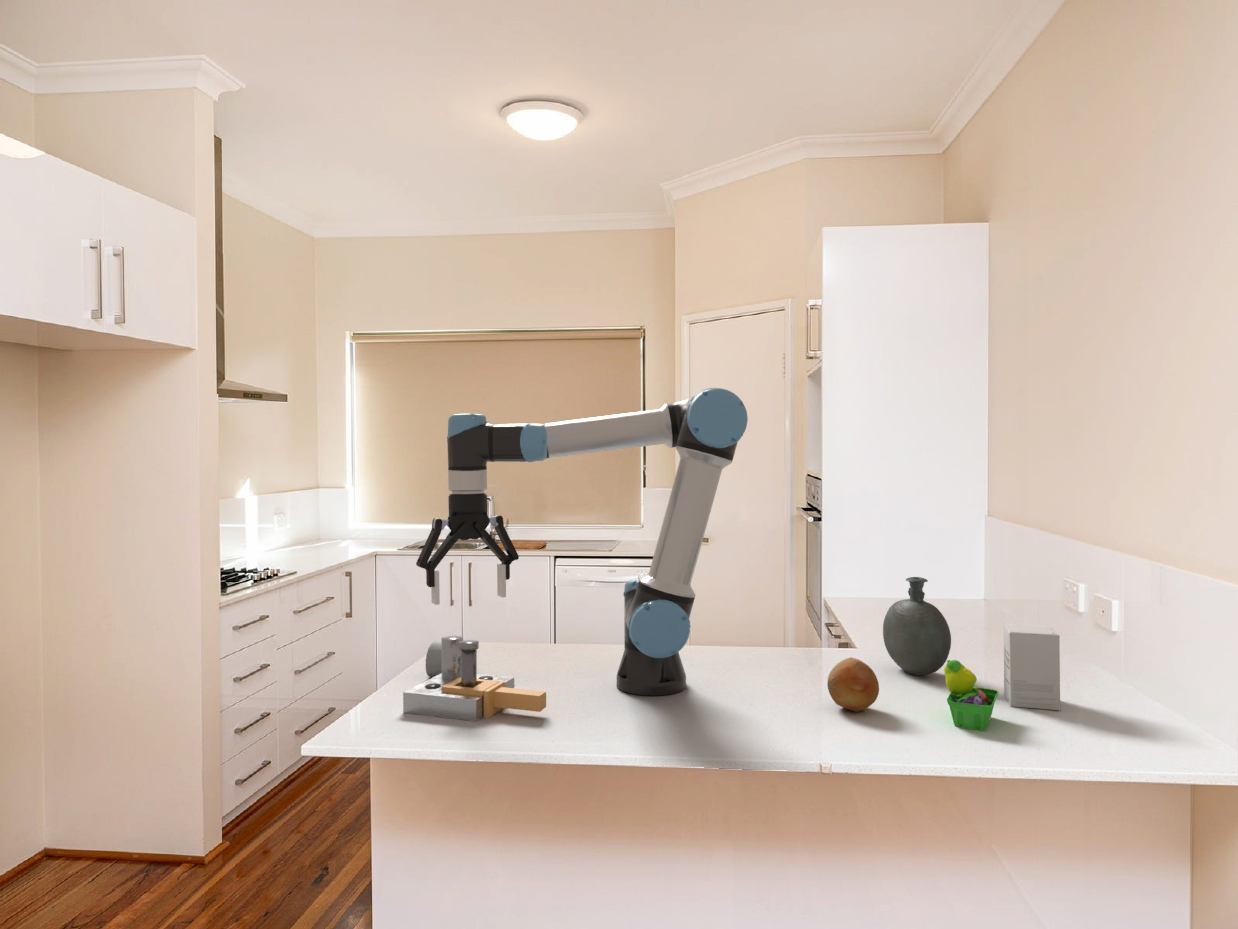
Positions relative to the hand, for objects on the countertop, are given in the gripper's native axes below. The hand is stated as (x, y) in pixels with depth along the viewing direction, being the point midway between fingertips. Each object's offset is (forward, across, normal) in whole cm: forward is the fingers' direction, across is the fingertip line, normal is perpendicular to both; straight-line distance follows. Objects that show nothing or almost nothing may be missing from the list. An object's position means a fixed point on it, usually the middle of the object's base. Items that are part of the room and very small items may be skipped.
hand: (469, 600), depth 153 cm
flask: (+23, -96, +28) cm, 103 cm away
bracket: (+22, -4, +4) cm, 22 cm away
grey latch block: (+22, +1, -4) cm, 22 cm away
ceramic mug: (+22, -4, -26) cm, 34 cm away
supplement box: (+23, -99, +54) cm, 115 cm away
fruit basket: (+23, -78, +55) cm, 98 cm away
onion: (+22, -64, +39) cm, 78 cm away
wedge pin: (+22, 0, 0) cm, 22 cm away
